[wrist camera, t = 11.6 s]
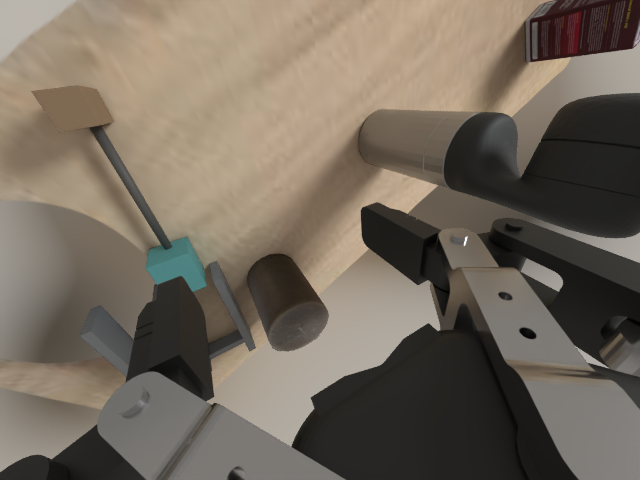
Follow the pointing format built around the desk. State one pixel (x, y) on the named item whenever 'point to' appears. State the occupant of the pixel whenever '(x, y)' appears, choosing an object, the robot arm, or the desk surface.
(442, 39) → the desk surface
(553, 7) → the supplement box
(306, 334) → the pillar candle
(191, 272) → the block ended dumbbell
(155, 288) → the lane rack
